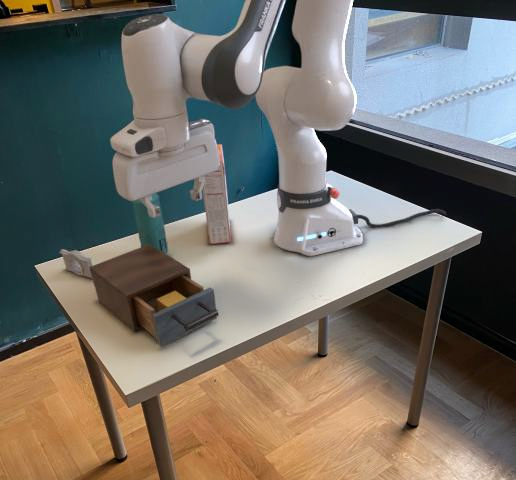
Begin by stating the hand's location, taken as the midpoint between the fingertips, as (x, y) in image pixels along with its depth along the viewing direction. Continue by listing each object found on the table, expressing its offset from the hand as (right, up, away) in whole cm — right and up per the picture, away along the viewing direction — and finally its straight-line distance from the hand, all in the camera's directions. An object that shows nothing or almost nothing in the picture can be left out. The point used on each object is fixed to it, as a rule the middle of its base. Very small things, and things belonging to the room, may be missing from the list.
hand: (176, 207), depth 95 cm
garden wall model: (-26, -9, +26) cm, 38 cm away
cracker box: (+5, +4, +42) cm, 42 cm away
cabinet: (-9, -16, +15) cm, 24 cm away
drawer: (-1, -21, +8) cm, 22 cm away
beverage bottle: (-10, -4, +31) cm, 33 cm away
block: (-1, -20, +7) cm, 21 cm away
